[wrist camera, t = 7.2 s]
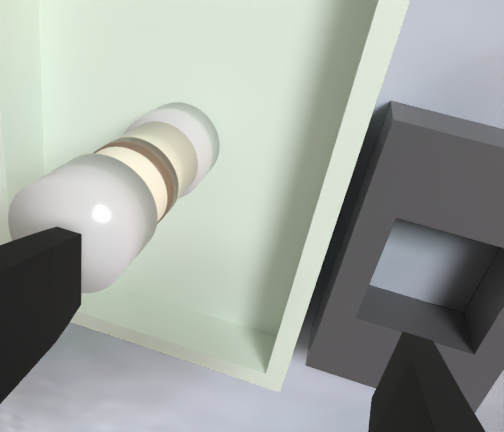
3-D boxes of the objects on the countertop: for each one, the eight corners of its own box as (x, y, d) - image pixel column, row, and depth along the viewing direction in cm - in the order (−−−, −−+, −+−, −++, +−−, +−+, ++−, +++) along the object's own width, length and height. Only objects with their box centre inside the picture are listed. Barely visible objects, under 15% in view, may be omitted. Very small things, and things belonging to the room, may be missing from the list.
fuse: (213, 188, 19) (121, 307, 12) (141, 167, 19) (12, 273, 13) (225, 113, 18) (127, 202, 11) (147, 93, 18) (2, 166, 11)
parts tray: (290, 345, 23) (279, 392, 20) (40, 264, 24) (0, 298, 22) (457, -167, 13) (477, -203, 10) (20, -248, 14) (-58, -298, 12)
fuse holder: (460, 373, 21) (470, 419, 19) (312, 327, 22) (305, 365, 20) (594, 152, 16) (628, 180, 14) (391, 100, 17) (393, 119, 14)
